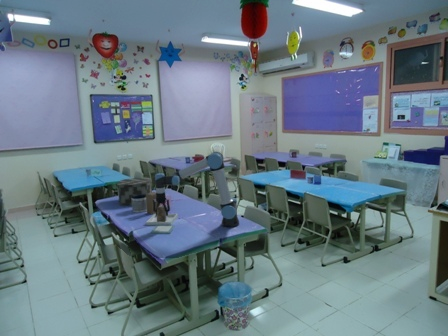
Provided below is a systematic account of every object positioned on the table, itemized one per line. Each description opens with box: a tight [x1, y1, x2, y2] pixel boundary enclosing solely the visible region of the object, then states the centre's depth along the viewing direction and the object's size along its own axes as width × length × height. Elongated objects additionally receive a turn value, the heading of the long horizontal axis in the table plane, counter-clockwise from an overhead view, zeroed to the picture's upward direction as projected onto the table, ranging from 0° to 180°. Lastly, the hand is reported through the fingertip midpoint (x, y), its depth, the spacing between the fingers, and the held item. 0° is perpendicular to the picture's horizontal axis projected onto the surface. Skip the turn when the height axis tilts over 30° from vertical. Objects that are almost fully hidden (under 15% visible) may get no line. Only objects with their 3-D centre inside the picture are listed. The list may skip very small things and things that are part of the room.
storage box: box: [116, 177, 153, 207], centre depth 365 cm, size 35×35×23 cm
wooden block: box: [146, 191, 161, 215], centre depth 318 cm, size 10×10×20 cm
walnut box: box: [157, 205, 166, 222], centre depth 268 cm, size 6×6×12 cm
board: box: [150, 225, 176, 235], centre depth 271 cm, size 16×16×1 cm
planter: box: [131, 195, 147, 214], centre depth 329 cm, size 16×16×14 cm
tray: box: [145, 213, 179, 226], centre depth 293 cm, size 22×24×4 cm
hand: (162, 219), depth 269 cm, fingers closed on walnut box, 6 cm apart
